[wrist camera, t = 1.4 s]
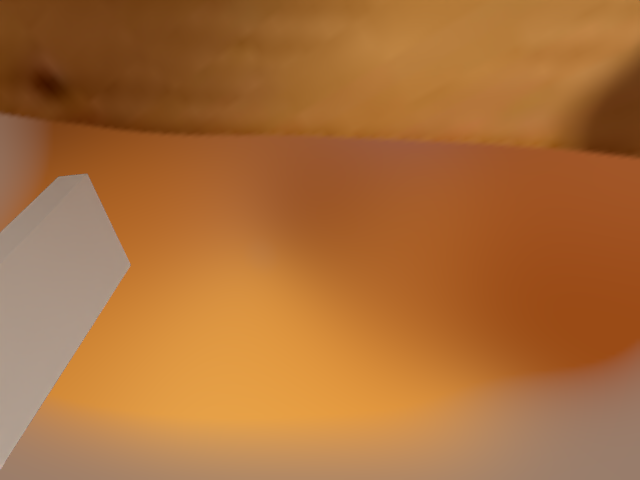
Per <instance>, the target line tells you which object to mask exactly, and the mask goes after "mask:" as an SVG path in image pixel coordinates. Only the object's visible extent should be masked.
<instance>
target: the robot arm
mask: <svg viewBox="0 0 640 480" xmlns="http://www.w3.org/2000/svg"><path fill="white" fill-rule="evenodd" d="M129 267H130V263H129V260H128V258H127V256H126V254H125V252H124V250H123V248H122V246H121V244H120V241H119V239H118V237H117V235H116V233H115V231H114V229H113V227H112V224H111V222H110V220H109V218H108V216H107V214H106V212H105V210H104V208H103V206H102V203H101V201H100V199H99V197H98V195H97V193H96V191H95V189H94V187H93V185H92V182H91V180H90V178H89V176H88V174H79V175H69V176H60V177H58V178H56V180H54V182H52V183H51V184H50V185H49V186H48V187H47V188H46V189H45V190H44V191H43V192H42V193H41V194H40V195H39V196H38V197H37V198H36V199H35V200H34V201H33V202H31V204H30V205H28V206H27V207H26V208H25V209H24V210H23V211H22V212H21V213H20V214H19V215H18V216H17V217H16V218H15V219H14V220H13V221H12V222H11V223H10V224H9V225H8V226H6V227H5V228H4V229H3V230H2V232H0V469H1V468H2V466H3V465H4V463H5V462H6V460H7V458H8V456H9V455H10V454H11V452H12V451H13V449H14V447H15V446H16V444H17V443H18V441H19V440H20V438H21V436H22V435H23V433H24V432H25V430H26V428H27V427H28V425H29V424H30V422H31V421H32V419H33V418H34V416H35V414H36V413H37V411H38V410H39V408H40V407H41V405H42V403H43V402H44V400H45V399H46V397H47V396H48V394H49V392H50V391H51V389H52V388H53V386H54V385H55V383H56V382H57V380H58V378H59V377H60V375H61V374H62V372H63V371H64V369H65V368H66V366H67V364H68V363H69V361H70V360H71V358H72V357H73V355H74V353H75V352H76V350H77V349H78V347H79V346H80V344H81V342H82V341H83V339H84V338H85V336H86V335H87V333H88V331H89V330H90V328H91V327H92V325H93V324H94V322H95V321H96V319H97V317H98V316H99V314H100V312H101V311H102V310H103V308H104V306H105V305H106V303H107V302H108V300H109V298H110V297H111V295H112V293H113V292H114V291H115V289H116V288H117V286H118V284H119V282H120V281H121V280H122V278H123V276H124V275H125V273H126V272H127V270H128V269H129Z"/></svg>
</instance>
